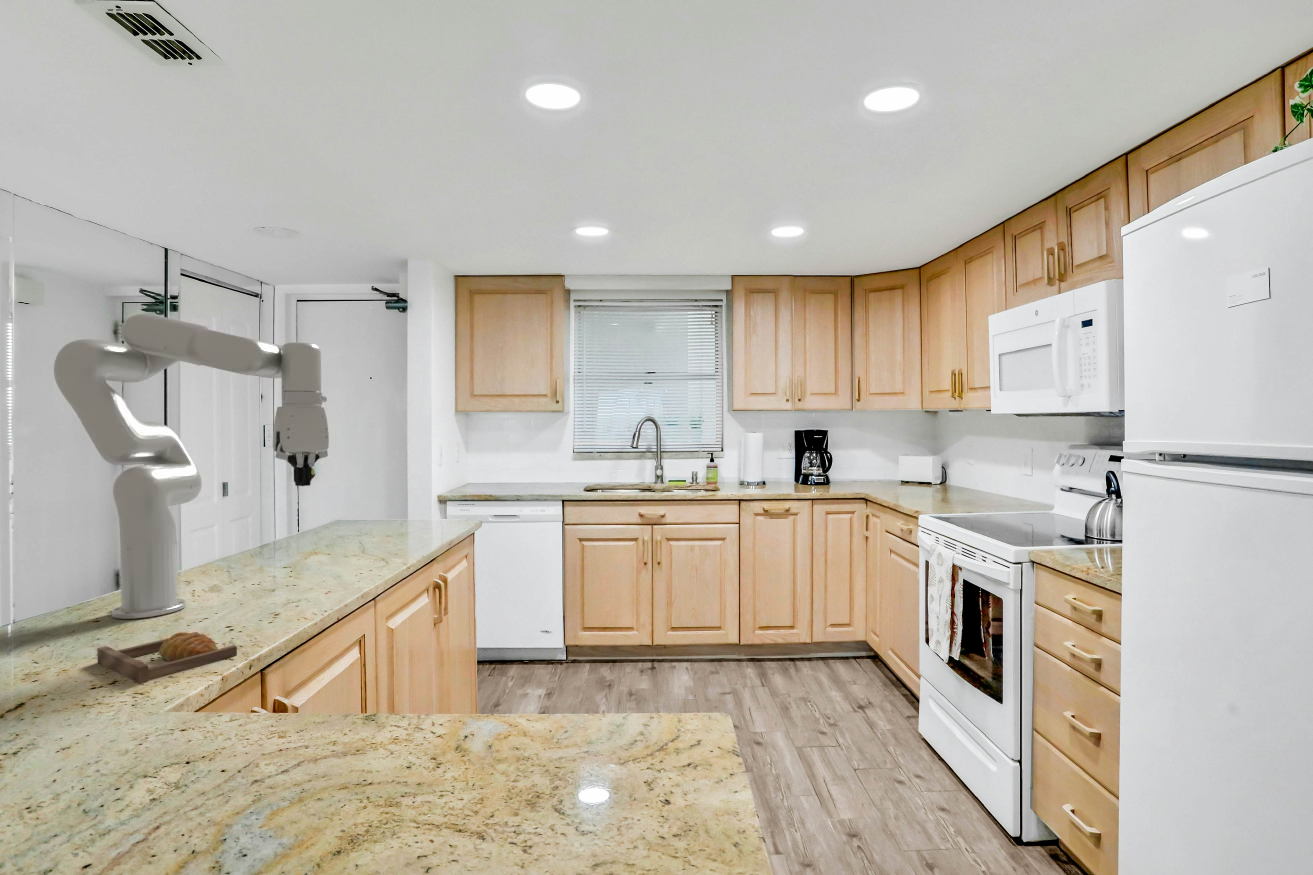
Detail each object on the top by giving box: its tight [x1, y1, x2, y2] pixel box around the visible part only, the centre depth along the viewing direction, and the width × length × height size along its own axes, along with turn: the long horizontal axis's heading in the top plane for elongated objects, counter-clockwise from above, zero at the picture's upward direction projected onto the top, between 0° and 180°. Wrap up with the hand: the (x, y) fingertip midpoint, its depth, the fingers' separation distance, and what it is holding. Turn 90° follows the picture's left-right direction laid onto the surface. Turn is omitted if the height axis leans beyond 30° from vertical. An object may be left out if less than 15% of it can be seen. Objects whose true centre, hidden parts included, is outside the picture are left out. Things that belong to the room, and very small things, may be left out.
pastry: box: [158, 631, 219, 662], centre depth 111 cm, size 9×7×4 cm
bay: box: [96, 631, 238, 685], centre depth 109 cm, size 17×14×2 cm
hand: (302, 485), depth 139 cm, fingers closed
